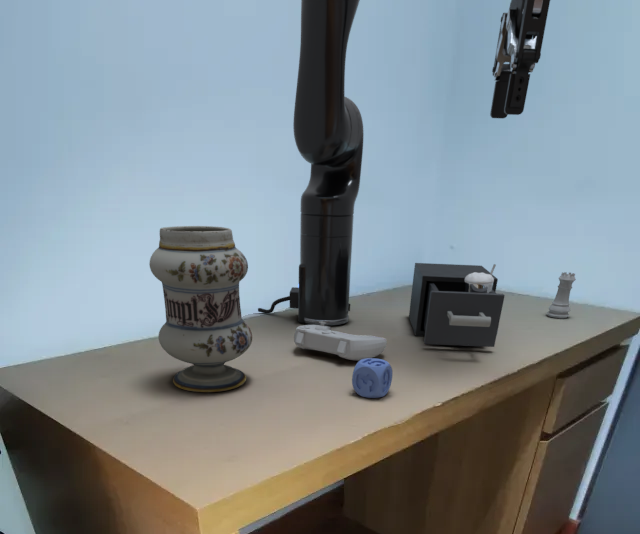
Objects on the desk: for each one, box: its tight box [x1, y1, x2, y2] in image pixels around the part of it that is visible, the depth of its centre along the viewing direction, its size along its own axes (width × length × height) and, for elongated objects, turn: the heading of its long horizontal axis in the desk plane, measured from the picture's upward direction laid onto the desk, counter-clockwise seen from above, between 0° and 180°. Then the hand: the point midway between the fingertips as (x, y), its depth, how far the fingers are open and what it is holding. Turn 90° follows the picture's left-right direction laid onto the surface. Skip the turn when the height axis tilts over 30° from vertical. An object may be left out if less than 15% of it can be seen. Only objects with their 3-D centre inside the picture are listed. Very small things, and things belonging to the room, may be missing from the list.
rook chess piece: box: [546, 271, 576, 320], centre depth 115 cm, size 4×4×8 cm
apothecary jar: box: [148, 225, 253, 393], centre depth 72 cm, size 12×12×18 cm
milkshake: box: [464, 263, 497, 293], centre depth 92 cm, size 4×5×10 cm
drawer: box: [421, 281, 505, 348], centre depth 94 cm, size 19×11×8 cm, turn 177°
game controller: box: [293, 322, 388, 362], centre depth 89 cm, size 14×4×10 cm
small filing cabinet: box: [408, 262, 499, 337], centre depth 104 cm, size 15×13×10 cm
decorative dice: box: [351, 357, 393, 399], centre depth 74 cm, size 4×4×4 cm
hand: (505, 116), depth 72 cm, fingers open, 8 cm apart
